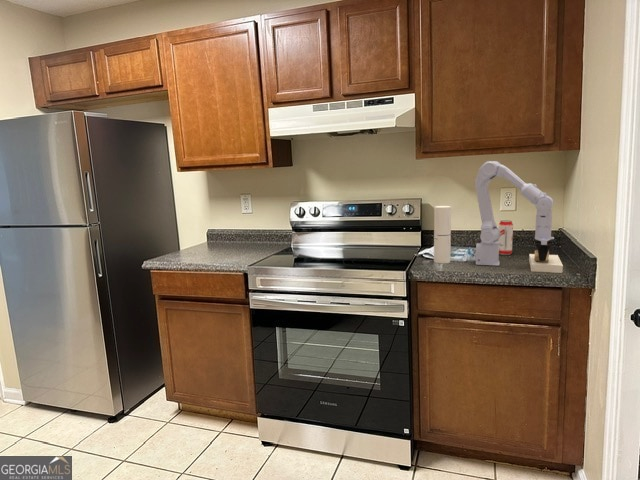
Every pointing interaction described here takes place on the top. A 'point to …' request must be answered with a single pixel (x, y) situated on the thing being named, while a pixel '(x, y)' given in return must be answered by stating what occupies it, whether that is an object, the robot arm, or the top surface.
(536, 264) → the board
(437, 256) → the cylindrical container
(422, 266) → the top surface
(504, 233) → the beer can
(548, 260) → the peg
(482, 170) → the robot arm
